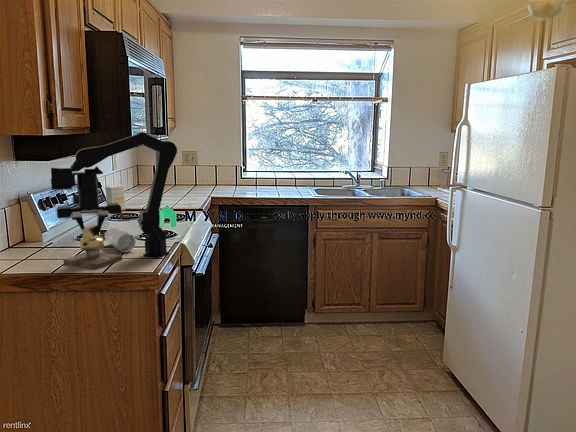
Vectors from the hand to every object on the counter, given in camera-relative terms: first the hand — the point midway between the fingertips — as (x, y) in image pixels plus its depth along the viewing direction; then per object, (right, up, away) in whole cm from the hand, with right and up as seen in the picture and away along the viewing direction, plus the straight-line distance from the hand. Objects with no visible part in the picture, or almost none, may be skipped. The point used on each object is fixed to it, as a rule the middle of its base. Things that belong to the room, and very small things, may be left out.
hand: (91, 236), depth 149 cm
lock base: (0, -8, +2) cm, 8 cm away
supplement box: (-26, +9, +92) cm, 96 cm away
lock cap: (0, -4, 0) cm, 4 cm away
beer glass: (-2, -1, +24) cm, 24 cm away
